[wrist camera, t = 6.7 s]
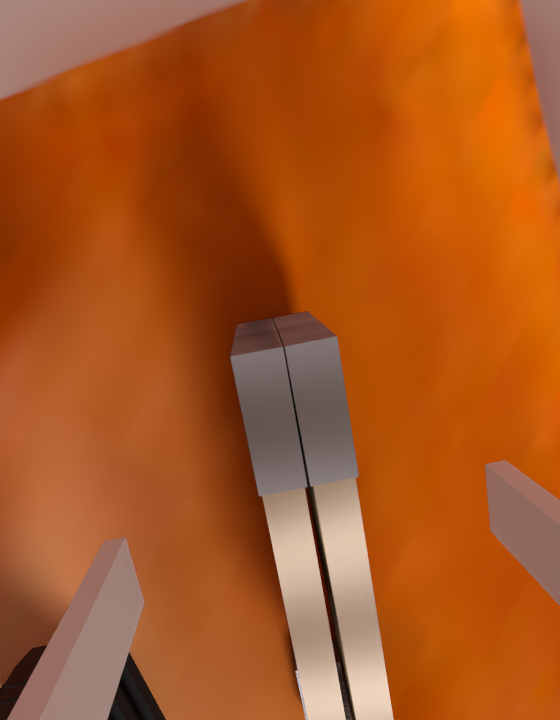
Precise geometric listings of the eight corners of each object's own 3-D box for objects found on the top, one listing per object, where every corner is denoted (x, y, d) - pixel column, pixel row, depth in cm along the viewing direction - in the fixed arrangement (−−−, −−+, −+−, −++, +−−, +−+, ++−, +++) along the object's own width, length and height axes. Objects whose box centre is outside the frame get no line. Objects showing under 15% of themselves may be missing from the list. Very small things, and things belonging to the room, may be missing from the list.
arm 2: (335, 675, 25) (368, 832, 18) (308, 681, 25) (329, 840, 18) (271, 318, 20) (282, 346, 13) (237, 324, 20) (230, 356, 13)
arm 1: (368, 669, 25) (412, 822, 18) (340, 675, 25) (374, 830, 18) (307, 311, 20) (336, 336, 13) (272, 317, 20) (284, 346, 13)
